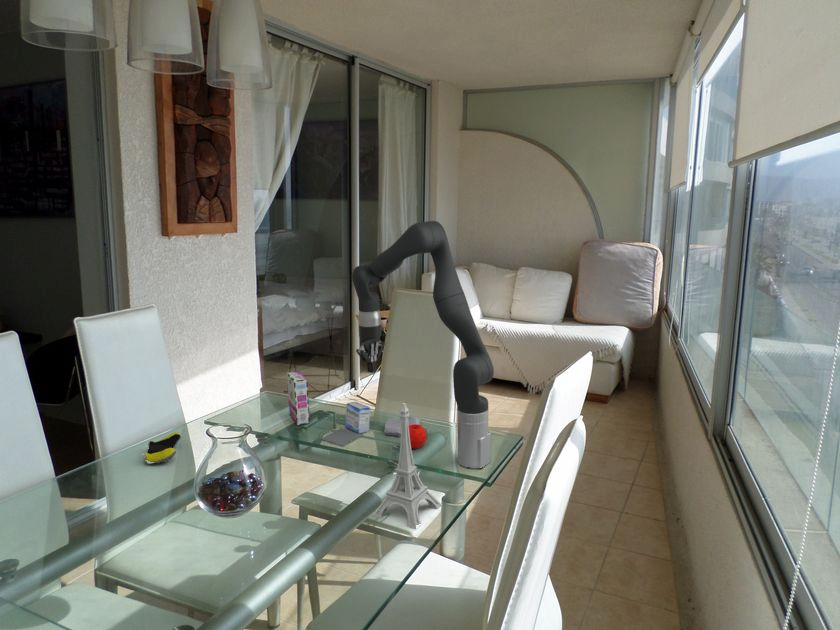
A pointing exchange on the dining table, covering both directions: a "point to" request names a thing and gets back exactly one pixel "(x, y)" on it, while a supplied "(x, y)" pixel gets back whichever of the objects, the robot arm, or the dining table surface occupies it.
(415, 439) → the apple
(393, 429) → the stone block
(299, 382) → the candy bar box
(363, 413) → the medicine box
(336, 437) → the mat
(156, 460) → the yellow black curved piece
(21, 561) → the dining table surface
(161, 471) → the dining table surface
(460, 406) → the robot arm
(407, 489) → the eiffel tower
